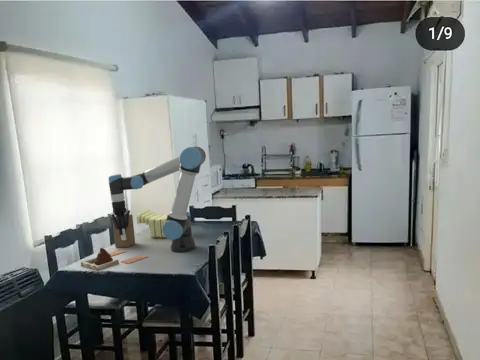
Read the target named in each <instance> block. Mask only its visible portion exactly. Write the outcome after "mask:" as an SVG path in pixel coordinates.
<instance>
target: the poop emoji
mask: <svg viewBox="0 0 480 360" xmlns="http://www.w3.org/2000/svg"><path fill="white" fill-rule="evenodd" d="M109 253H110V252H108V251H107V250H106V249H105V248H103V247H100V248H99V252H98V253H97V254H96V257H97V258H96V257H95V258H96V260H95V262H94V265H101V264H105V263H108V262H111V261H114V259H113V256H111V255H110V254H109Z"/></svg>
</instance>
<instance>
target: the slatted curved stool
mask: <svg viewBox="0 0 480 360" xmlns="http://www.w3.org/2000/svg"><path fill="white" fill-rule="evenodd" d="M167 215H168V214H160V213H157V212H154V211H150V209H148V208H146V209H144V210H141V211H140V212H138V213H137V215H136V220H137V221H136V223H137V225H140V224H145V225H147V226H148V228H149V231H150V235H151V238H167V237H166V236H165V235H164V234H163V231H162V227H163V225H164V223H165V222H166V219H167Z"/></svg>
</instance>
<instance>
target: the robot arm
mask: <svg viewBox="0 0 480 360" xmlns="http://www.w3.org/2000/svg"><path fill="white" fill-rule="evenodd" d="M206 156H207V155H206V152H205V150H204V149H203V148H202V147H200V146H196V145H195V146H190V147H189V146H188V147H186V148H185V149H183V150H182V151H181V153H180V154H179V156H178V157H175V158H173V159H170V160H169V161H166V162H164V163H161V164H159V165H157V166H154V167H152V168H149V169H147V170H145V171H143V172H140V173H138V174H136V175H131V176H124V177H122V174H121V173H117V174H116V173H115V174H110V175H109V176H108V177H107V178H108V186H109V191H110V198H111V199H110V201H112V202H111V207H112V213H110V214H109V217H110V218H111V220H112V224H113V223H114V226H115V228H116V229H119V234H120V235H121V240H126V228H127V227H128V224H129V214H130V213H131V210H130V209H127V208H126V200H125V192H124V191H126V190H127V191H130V190H139V189H140V190H141V189H142V188H143V186H146V185H148V184H150V183H153V182H155V181H157V180H159V179H160V180H161V179H162V178H164V177H167V176H169V175H172V174H175V173H176V172H179V171H180V174H179V178H178V182H177V185H176V189H175V194H174V198H173V203H172V207H171V210H170V211H169V212H168V213H167V214H166V215H167V219H166V222H165V223H164V225H163V227H162V231H163V234H164V235H165V236H166V237H165V238H167V239H169V240H171V245H170V250H171V251H172V252H175V253H184V252H190V251H192V250H195V249H196V247H197V245H196V242H195V240H194V237H193V232H192V221H191V213H190V212H189V211H188V207H189V203H190V200H191V195H192V191H193V186H194V185H195V184H194V183H195V178H196V176H197V175H198V174H199V173H200V170H201V166H202V165H203V164H204V163H205V162H206V159H207V158H206ZM115 216H116V217H115ZM116 218H117V220H116ZM122 228H123V229H122Z"/></svg>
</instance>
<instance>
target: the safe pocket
mask: <svg viewBox="0 0 480 360" xmlns="http://www.w3.org/2000/svg"><path fill="white" fill-rule="evenodd" d="M96 258H97V256H95V257H93V258H90V259H86V260H83V261H80V265H81V266H82V267H85V268H89V269H92V270H95V271H99V270H102V269H105V268H106V269H107V268H109V267H112V266H115V265H118V264H119V263H120V261H119V259H113V261H111V262H108V263H105V264H101V265H95V260H96ZM93 263H94V264H93Z"/></svg>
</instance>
